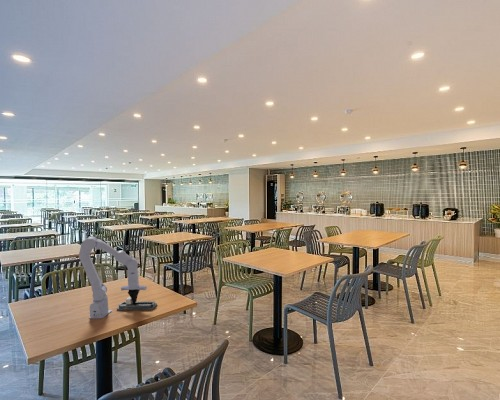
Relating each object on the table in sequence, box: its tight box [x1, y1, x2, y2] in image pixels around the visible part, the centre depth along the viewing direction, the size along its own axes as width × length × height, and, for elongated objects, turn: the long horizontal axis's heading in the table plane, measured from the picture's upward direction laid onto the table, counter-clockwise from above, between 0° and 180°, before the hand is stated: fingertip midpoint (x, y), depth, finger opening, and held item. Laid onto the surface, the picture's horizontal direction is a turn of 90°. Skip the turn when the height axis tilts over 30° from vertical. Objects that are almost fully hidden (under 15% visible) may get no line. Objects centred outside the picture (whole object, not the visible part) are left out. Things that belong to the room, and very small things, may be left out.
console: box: [116, 300, 158, 312], centre depth 165 cm, size 8×21×3 cm, turn 85°
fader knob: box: [125, 296, 133, 305], centre depth 165 cm, size 4×3×5 cm
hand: (134, 302), depth 165 cm, fingers closed
